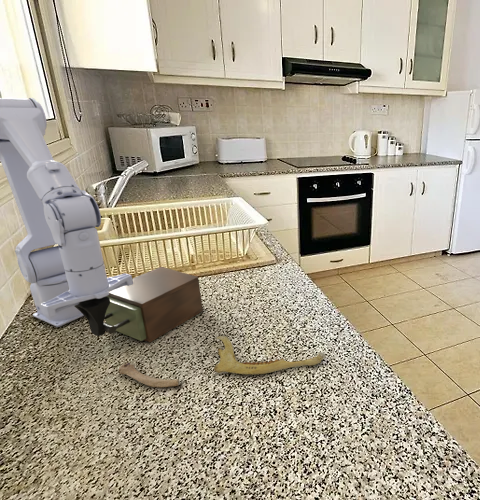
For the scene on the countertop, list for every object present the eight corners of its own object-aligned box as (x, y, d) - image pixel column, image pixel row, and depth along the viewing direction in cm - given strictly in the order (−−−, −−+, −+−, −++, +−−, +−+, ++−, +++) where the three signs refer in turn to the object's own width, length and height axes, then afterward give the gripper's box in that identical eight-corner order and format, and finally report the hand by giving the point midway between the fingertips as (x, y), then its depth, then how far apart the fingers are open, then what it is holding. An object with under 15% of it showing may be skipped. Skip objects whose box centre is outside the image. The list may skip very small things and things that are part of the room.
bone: (171, 394, 60) (169, 383, 59) (117, 377, 63) (114, 367, 63) (182, 383, 62) (181, 373, 62) (129, 368, 66) (127, 358, 65)
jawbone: (195, 374, 65) (193, 367, 65) (219, 341, 73) (218, 335, 72) (312, 394, 62) (312, 387, 61) (325, 358, 69) (325, 351, 69)
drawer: (121, 353, 68) (113, 321, 66) (86, 337, 72) (77, 307, 70) (192, 311, 82) (188, 284, 80) (159, 300, 86) (155, 274, 84)
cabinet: (149, 342, 73) (141, 304, 70) (111, 327, 77) (102, 290, 74) (203, 311, 84) (198, 276, 81) (167, 299, 89) (161, 266, 86)
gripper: (50, 286, 57) (70, 360, 62) (138, 256, 69) (149, 320, 74) (25, 276, 60) (46, 348, 64) (114, 249, 72) (126, 311, 77)
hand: (100, 332), depth 69 cm, fingers closed, pressing on drawer
